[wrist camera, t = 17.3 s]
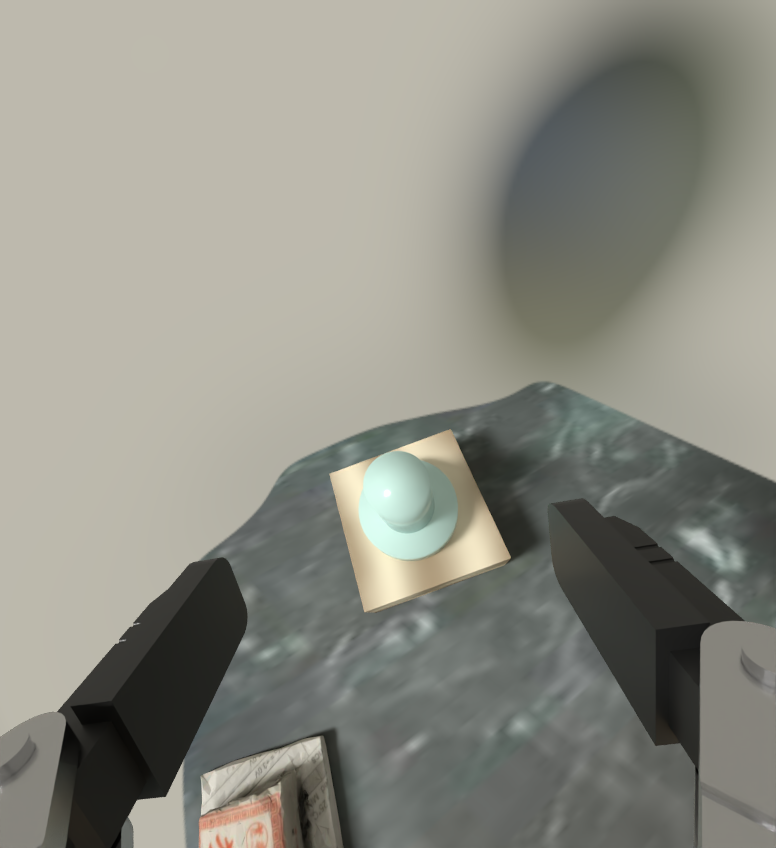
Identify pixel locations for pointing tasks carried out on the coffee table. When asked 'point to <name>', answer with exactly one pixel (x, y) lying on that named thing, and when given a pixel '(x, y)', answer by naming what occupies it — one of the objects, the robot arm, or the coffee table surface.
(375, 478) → the mint green knob
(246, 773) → the packaged product
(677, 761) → the coffee table surface
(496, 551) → the block
